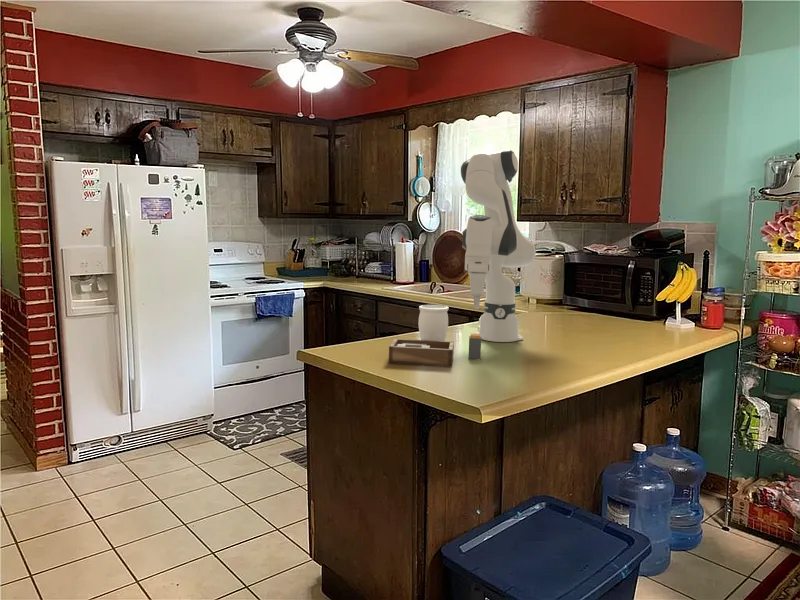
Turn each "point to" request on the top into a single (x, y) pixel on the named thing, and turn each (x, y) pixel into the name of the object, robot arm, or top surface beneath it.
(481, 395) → the top surface
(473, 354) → the block
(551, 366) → the top surface
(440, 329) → the jar
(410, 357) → the box
